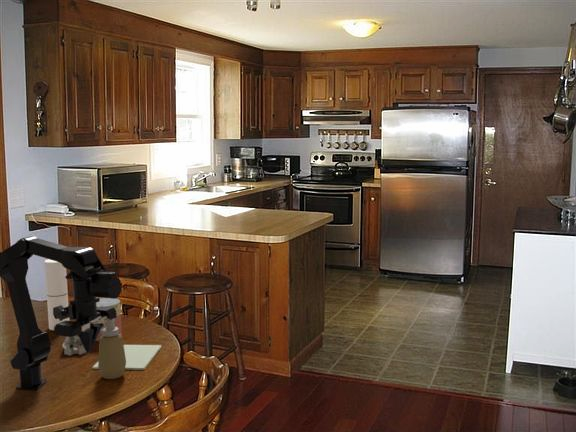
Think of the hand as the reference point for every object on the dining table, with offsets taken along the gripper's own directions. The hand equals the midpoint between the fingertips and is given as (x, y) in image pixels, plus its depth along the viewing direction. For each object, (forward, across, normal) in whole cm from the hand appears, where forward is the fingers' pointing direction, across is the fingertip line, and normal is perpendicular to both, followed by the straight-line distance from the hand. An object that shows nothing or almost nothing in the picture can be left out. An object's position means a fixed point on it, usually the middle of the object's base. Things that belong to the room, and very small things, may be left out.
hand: (88, 351), depth 176 cm
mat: (+13, -28, -9) cm, 32 cm away
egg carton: (+13, -28, -30) cm, 43 cm away
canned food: (+13, -44, -30) cm, 54 cm away
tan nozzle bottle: (+13, -14, -4) cm, 20 cm away
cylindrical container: (+12, -45, -51) cm, 69 cm away
